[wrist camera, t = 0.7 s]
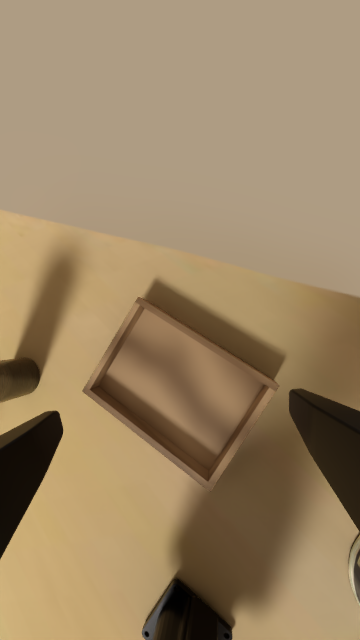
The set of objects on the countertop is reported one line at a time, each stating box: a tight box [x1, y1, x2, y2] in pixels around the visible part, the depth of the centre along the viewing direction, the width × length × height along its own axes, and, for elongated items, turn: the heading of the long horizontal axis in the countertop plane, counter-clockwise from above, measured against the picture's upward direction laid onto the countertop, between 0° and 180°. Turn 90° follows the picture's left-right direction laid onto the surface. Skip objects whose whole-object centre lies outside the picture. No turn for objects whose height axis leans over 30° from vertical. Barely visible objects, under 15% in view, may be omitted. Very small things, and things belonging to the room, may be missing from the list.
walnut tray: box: [83, 297, 279, 492], centre depth 22 cm, size 11×15×2 cm
